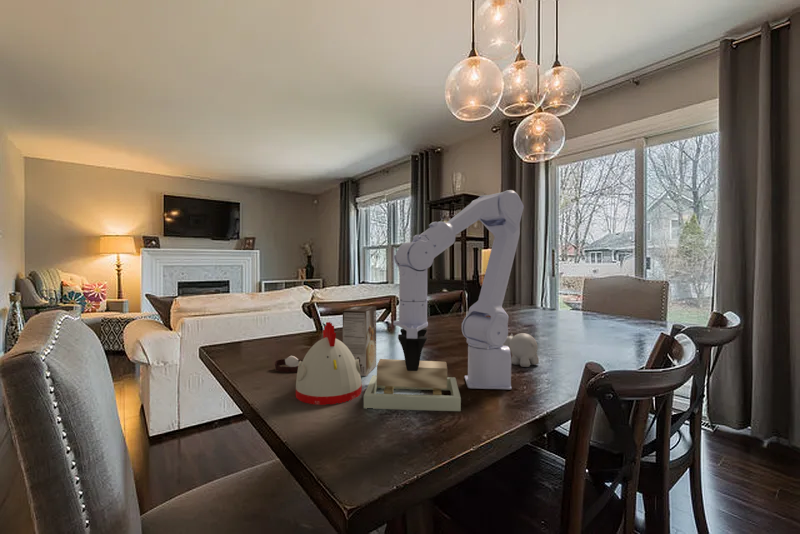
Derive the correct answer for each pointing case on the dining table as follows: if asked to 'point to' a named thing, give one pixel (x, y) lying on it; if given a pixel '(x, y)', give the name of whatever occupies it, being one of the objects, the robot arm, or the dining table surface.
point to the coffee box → (361, 335)
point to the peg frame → (413, 398)
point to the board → (412, 374)
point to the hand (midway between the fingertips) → (412, 366)
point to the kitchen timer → (328, 372)
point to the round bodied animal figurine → (522, 349)
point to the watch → (290, 362)
